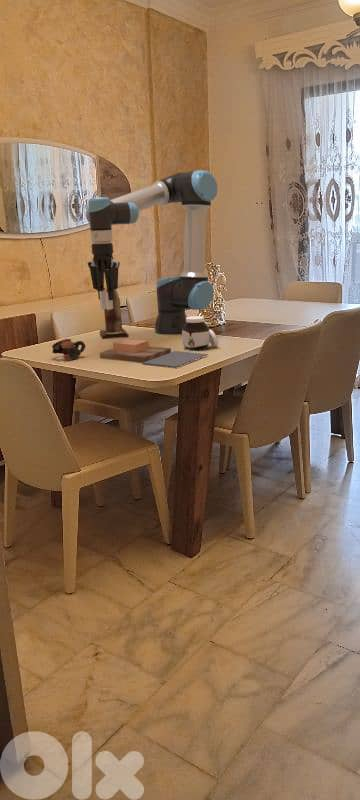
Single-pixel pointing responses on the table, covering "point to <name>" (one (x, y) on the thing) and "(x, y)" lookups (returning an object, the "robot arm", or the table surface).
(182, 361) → the charcoal mat
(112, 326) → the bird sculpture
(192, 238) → the robot arm
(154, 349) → the walnut riser
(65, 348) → the pottery mug
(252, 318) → the table surface
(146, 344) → the terracotta tile
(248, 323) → the table surface
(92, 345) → the table surface
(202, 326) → the spread jar
